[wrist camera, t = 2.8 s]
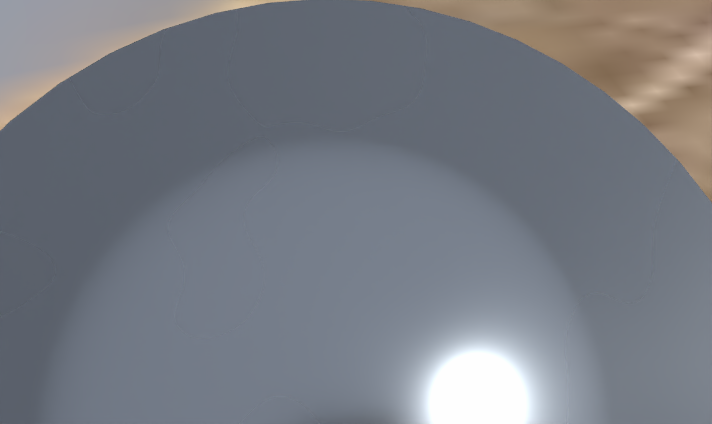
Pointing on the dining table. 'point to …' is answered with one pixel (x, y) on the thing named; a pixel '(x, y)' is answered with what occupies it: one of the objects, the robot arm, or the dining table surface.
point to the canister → (346, 234)
